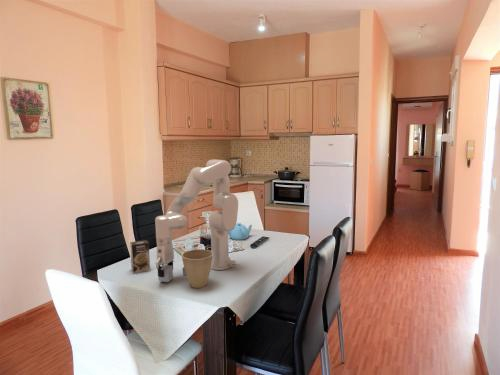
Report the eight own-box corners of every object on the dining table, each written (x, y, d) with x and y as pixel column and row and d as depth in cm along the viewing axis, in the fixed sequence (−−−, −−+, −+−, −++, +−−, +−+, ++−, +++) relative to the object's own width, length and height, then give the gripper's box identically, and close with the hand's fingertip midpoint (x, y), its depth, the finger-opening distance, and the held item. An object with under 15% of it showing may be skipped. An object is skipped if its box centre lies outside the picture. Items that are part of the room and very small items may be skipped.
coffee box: (133, 274, 195) (131, 244, 193) (131, 270, 200) (129, 241, 198) (150, 270, 199) (149, 242, 197) (148, 267, 205) (146, 239, 202)
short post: (189, 273, 194) (189, 266, 193) (187, 275, 191) (187, 268, 191) (185, 273, 194) (184, 266, 194) (183, 274, 192) (182, 267, 191)
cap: (173, 277, 186) (172, 265, 185) (168, 281, 181) (167, 269, 180) (163, 277, 187) (163, 264, 186) (158, 281, 182) (158, 268, 181)
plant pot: (177, 288, 175) (175, 256, 172) (193, 277, 188) (192, 248, 186) (203, 293, 169) (202, 260, 166) (219, 281, 182) (218, 251, 180)
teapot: (224, 239, 257) (224, 224, 255) (233, 234, 270) (233, 220, 269) (244, 241, 251) (243, 226, 249) (252, 236, 264) (252, 221, 263)
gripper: (162, 246, 172) (164, 280, 174) (178, 236, 188) (180, 267, 191) (148, 245, 174) (150, 279, 176) (165, 235, 190) (167, 266, 192)
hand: (165, 273), depth 183 cm, fingers open, 9 cm apart
